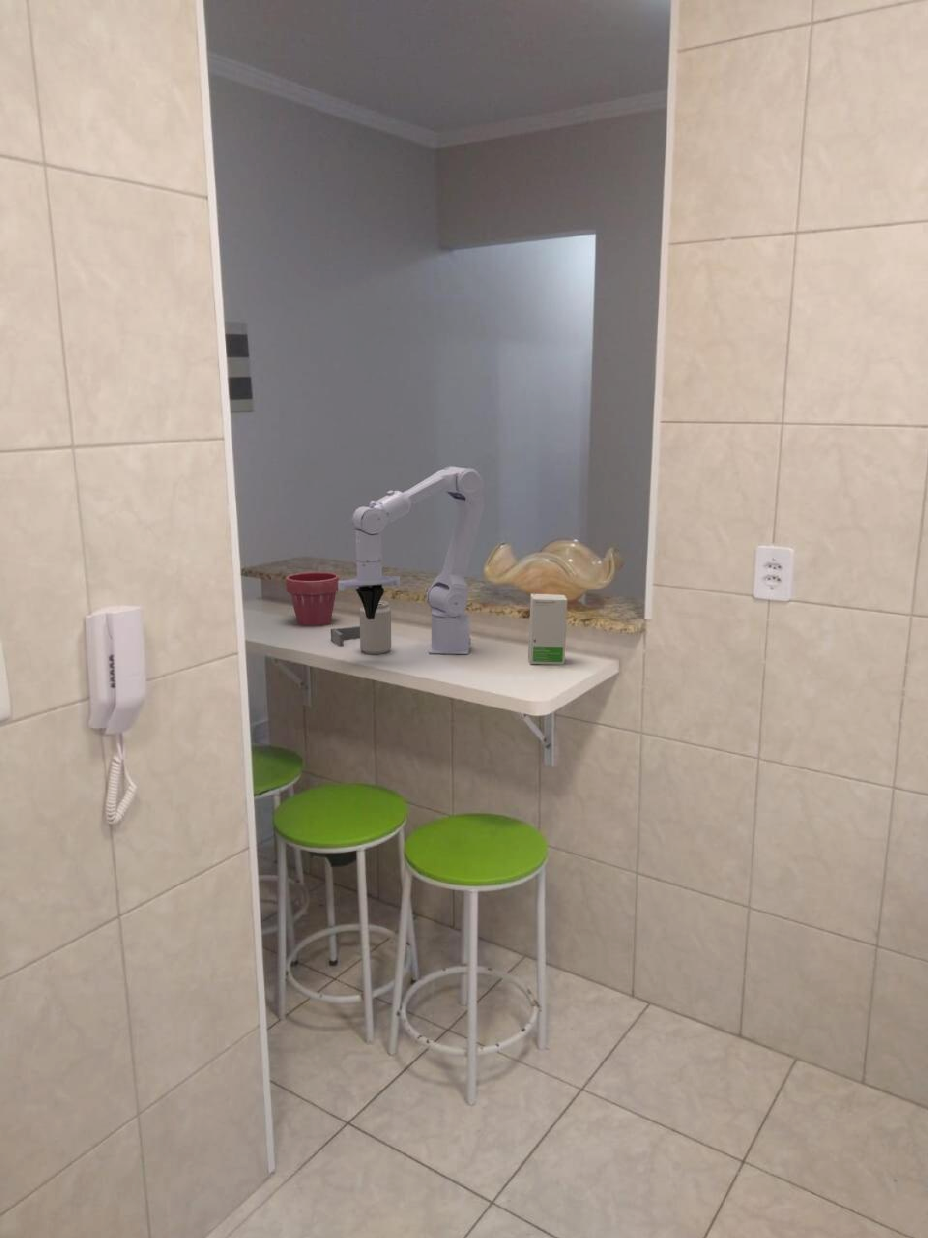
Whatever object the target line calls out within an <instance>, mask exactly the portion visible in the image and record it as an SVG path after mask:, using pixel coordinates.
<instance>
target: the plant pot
mask: <svg viewBox="0 0 928 1238" xmlns="http://www.w3.org/2000/svg"><path fill="white" fill-rule="evenodd" d="M339 577H340V576H339V575H338V574H337V573H335V572H334V573H333V572H328V571H327V572H325V571H307V572H297V573H292V574H289V575H288V576H286V578H285V579H286V581H285V582H286V586H285V587H286V591H287V592H288V593H289V595H290V598H291V599H290V600H291V603H292V607H293V610H294V611H293V612H294V615H295V618H296V623H297V624H298V625H301V626H307V627H308V626H309V627H313V626H315V627H317V626H324V625H328V624H330V623H331V622H332V618H333V612H334V606H335V601H336V594H337V591H339V590H338V581H340V578H339Z"/></svg>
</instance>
